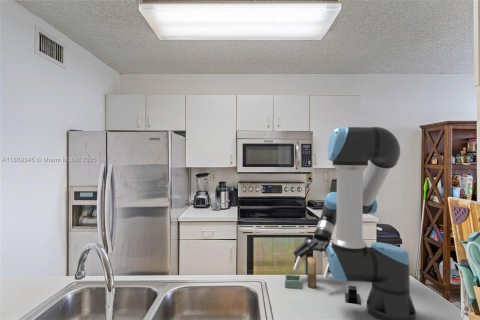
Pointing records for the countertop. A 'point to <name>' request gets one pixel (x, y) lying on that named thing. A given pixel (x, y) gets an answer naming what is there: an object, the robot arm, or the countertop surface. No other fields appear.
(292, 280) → the cradle
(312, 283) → the block
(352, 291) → the black blocky piece
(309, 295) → the countertop surface
